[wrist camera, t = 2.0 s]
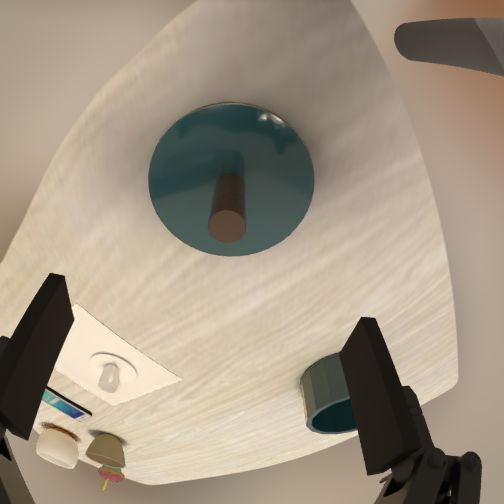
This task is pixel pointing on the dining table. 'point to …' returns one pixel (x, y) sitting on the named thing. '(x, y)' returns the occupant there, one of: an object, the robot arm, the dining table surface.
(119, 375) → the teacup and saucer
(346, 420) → the bowl
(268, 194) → the lid
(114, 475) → the cupcake
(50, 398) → the smartphone
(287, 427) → the dining table surface
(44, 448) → the cup
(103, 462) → the flower pot
